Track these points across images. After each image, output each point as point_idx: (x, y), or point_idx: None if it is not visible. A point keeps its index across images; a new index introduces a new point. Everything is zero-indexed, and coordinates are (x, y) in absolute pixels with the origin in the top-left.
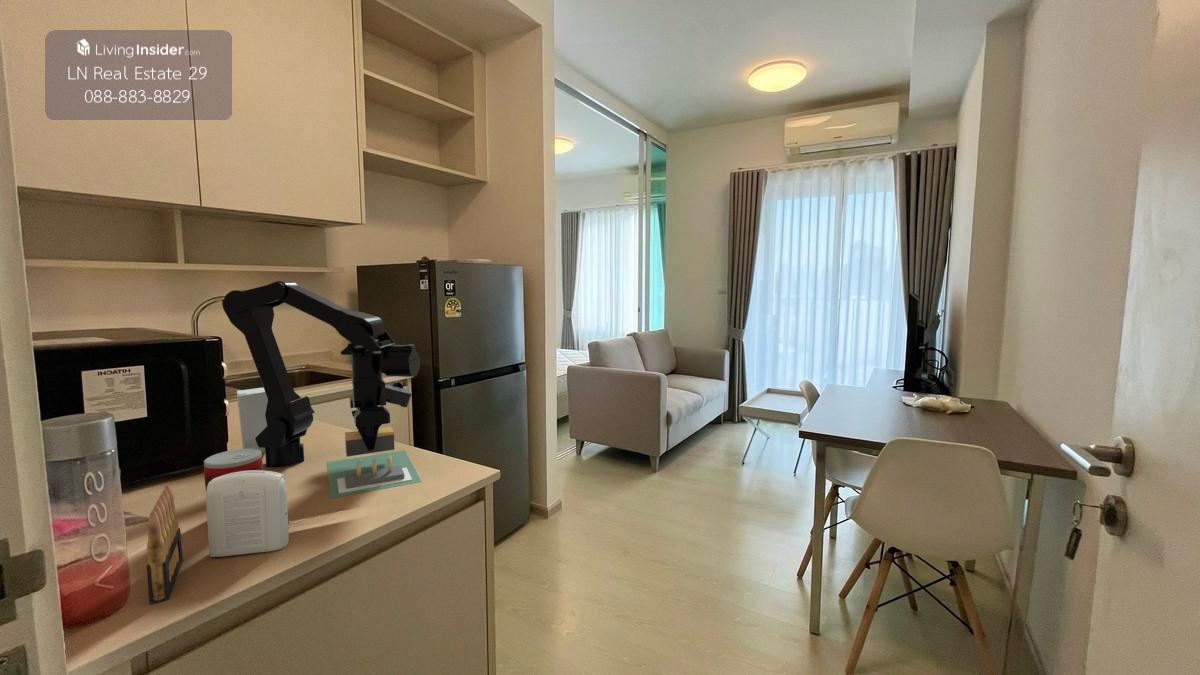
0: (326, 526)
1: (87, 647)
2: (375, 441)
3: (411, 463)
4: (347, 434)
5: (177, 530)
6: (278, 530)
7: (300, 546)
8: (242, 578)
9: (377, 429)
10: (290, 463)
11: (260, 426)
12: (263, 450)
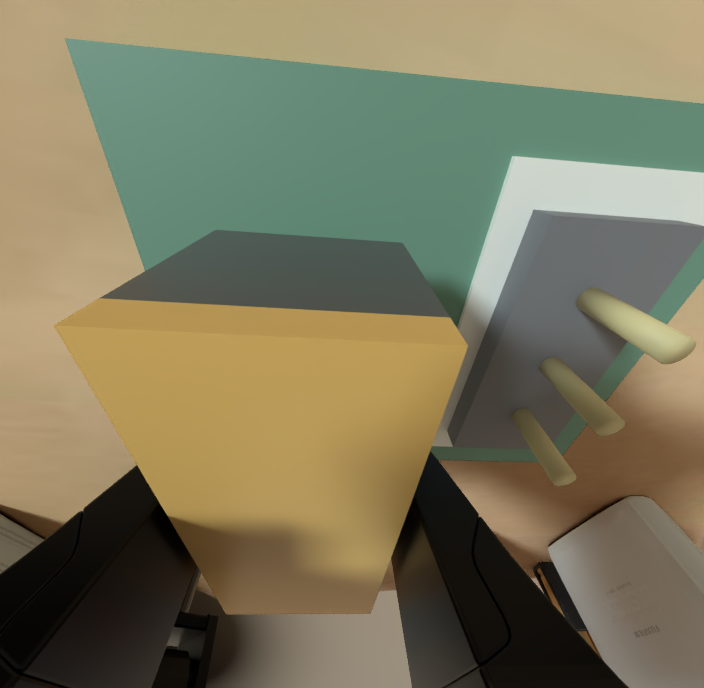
0: (647, 451)
1: None
2: (433, 456)
3: (448, 82)
4: (283, 608)
5: (584, 631)
6: (699, 551)
7: (679, 483)
8: (682, 526)
9: (573, 638)
10: None
11: None
12: (22, 536)
